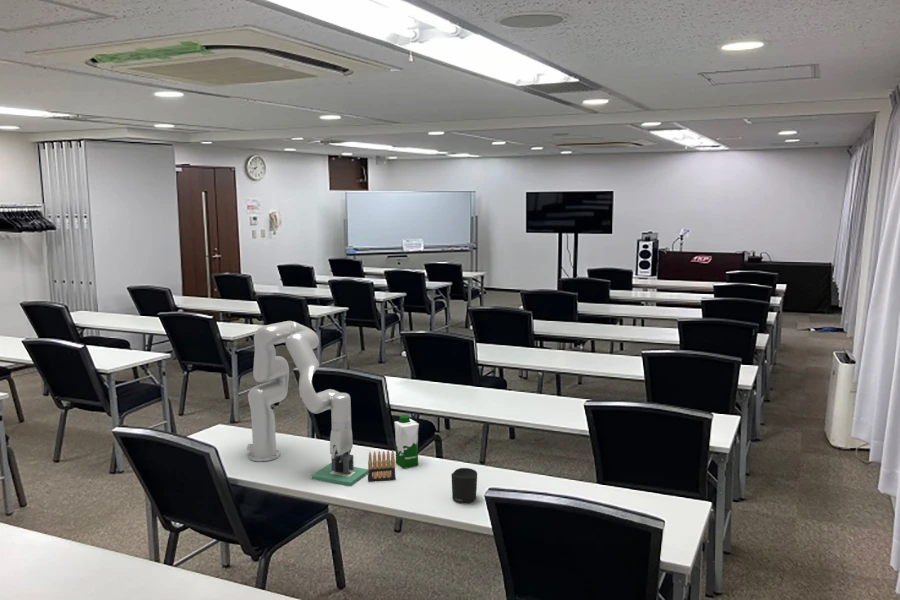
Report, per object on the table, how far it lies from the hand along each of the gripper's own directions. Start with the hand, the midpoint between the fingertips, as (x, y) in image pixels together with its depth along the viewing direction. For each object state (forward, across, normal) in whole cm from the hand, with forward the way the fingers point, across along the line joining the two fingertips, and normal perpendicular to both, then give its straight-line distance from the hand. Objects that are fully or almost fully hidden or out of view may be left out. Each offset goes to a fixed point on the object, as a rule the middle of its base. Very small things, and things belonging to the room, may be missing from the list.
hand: (342, 468), depth 266 cm
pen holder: (+4, 0, +52) cm, 52 cm away
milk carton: (+4, -21, +18) cm, 28 cm away
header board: (+3, 0, -1) cm, 3 cm away
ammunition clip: (+4, -3, +16) cm, 17 cm away
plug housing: (+1, 0, 0) cm, 1 cm away
